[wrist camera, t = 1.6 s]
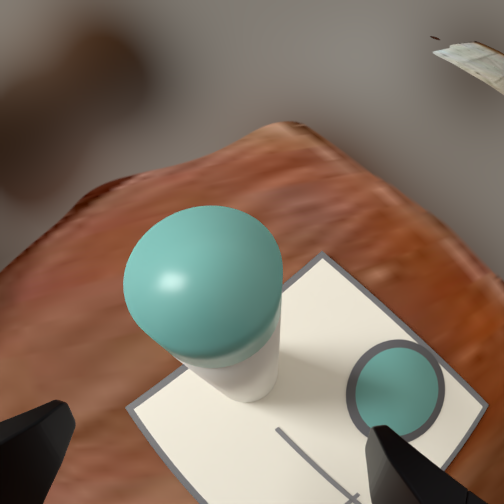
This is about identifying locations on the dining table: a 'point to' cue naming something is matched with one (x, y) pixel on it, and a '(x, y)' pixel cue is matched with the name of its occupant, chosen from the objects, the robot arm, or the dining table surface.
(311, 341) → the drawing board
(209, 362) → the marker
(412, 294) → the dining table surface
